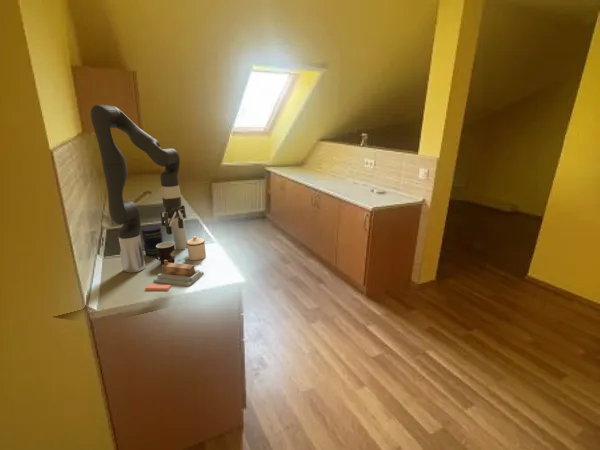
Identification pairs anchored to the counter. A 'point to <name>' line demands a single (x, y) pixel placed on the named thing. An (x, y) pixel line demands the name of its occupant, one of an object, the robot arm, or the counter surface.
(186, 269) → the plank with peg
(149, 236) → the storage jar
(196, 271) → the cradle jig
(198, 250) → the teacup with lid
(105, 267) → the counter surface
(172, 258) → the coffee mug
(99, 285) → the counter surface
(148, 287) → the salmon pink bar
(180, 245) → the bottle
